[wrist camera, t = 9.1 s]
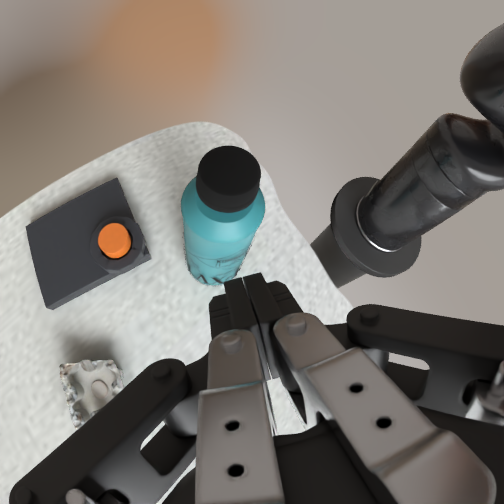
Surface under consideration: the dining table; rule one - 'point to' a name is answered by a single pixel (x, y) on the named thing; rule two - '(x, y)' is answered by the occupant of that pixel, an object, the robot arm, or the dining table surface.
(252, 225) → the beverage bottle
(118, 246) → the button
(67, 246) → the scale
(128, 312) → the dining table surface
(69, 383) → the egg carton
